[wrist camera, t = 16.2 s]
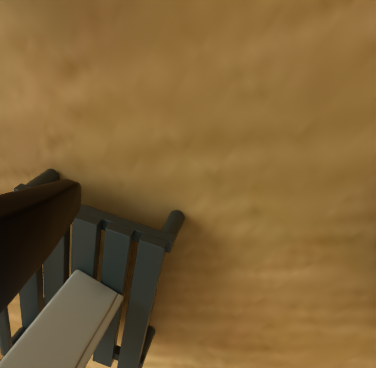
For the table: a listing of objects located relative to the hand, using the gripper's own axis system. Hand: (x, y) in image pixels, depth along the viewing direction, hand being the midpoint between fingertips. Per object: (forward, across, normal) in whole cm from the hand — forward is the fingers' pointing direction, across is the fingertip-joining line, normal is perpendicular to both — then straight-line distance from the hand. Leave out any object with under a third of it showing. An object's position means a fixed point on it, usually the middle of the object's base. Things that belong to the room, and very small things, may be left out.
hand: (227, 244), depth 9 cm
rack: (+13, +9, +17) cm, 23 cm away
